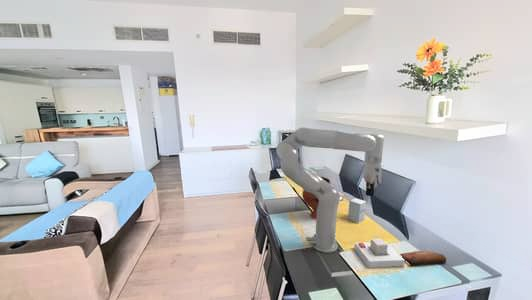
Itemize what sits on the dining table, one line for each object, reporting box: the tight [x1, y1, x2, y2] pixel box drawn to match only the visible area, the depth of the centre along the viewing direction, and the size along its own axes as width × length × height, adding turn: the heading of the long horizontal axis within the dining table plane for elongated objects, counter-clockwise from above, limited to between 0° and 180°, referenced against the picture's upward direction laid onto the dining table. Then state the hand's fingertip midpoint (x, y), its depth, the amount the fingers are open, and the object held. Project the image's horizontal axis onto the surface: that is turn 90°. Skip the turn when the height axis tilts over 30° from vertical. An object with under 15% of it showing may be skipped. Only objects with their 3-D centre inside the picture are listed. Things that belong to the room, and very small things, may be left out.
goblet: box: [302, 176, 332, 220], centre depth 141 cm, size 19×19×25 cm
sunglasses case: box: [399, 250, 447, 267], centre depth 102 cm, size 18×7×7 cm
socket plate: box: [353, 241, 406, 269], centre depth 104 cm, size 16×14×4 cm
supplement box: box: [347, 197, 367, 224], centre depth 139 cm, size 7×7×13 cm
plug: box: [370, 237, 389, 256], centre depth 103 cm, size 5×5×8 cm
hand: (369, 195), depth 111 cm, fingers closed
